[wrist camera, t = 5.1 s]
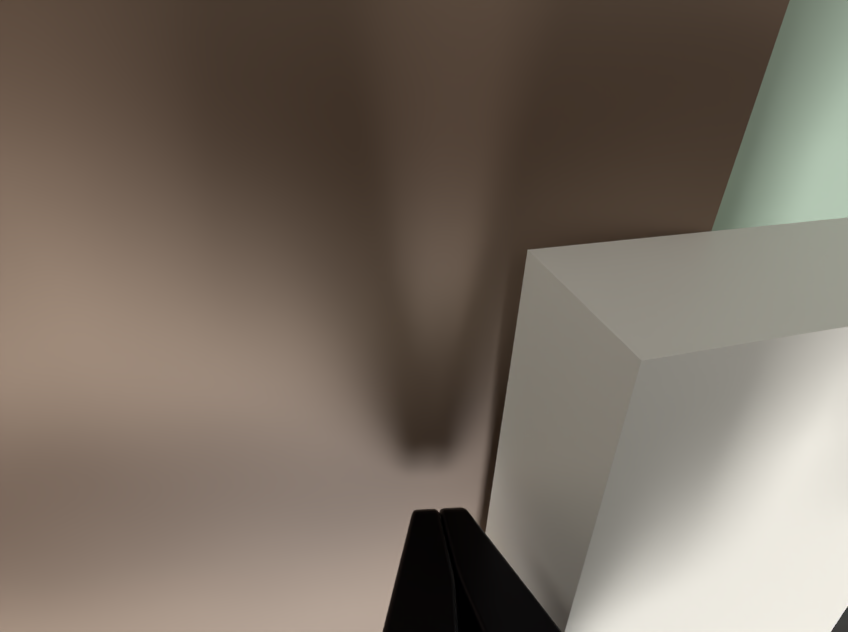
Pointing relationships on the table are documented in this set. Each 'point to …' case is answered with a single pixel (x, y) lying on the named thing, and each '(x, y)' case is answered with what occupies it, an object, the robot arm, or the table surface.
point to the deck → (306, 273)
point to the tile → (681, 432)
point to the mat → (796, 126)
